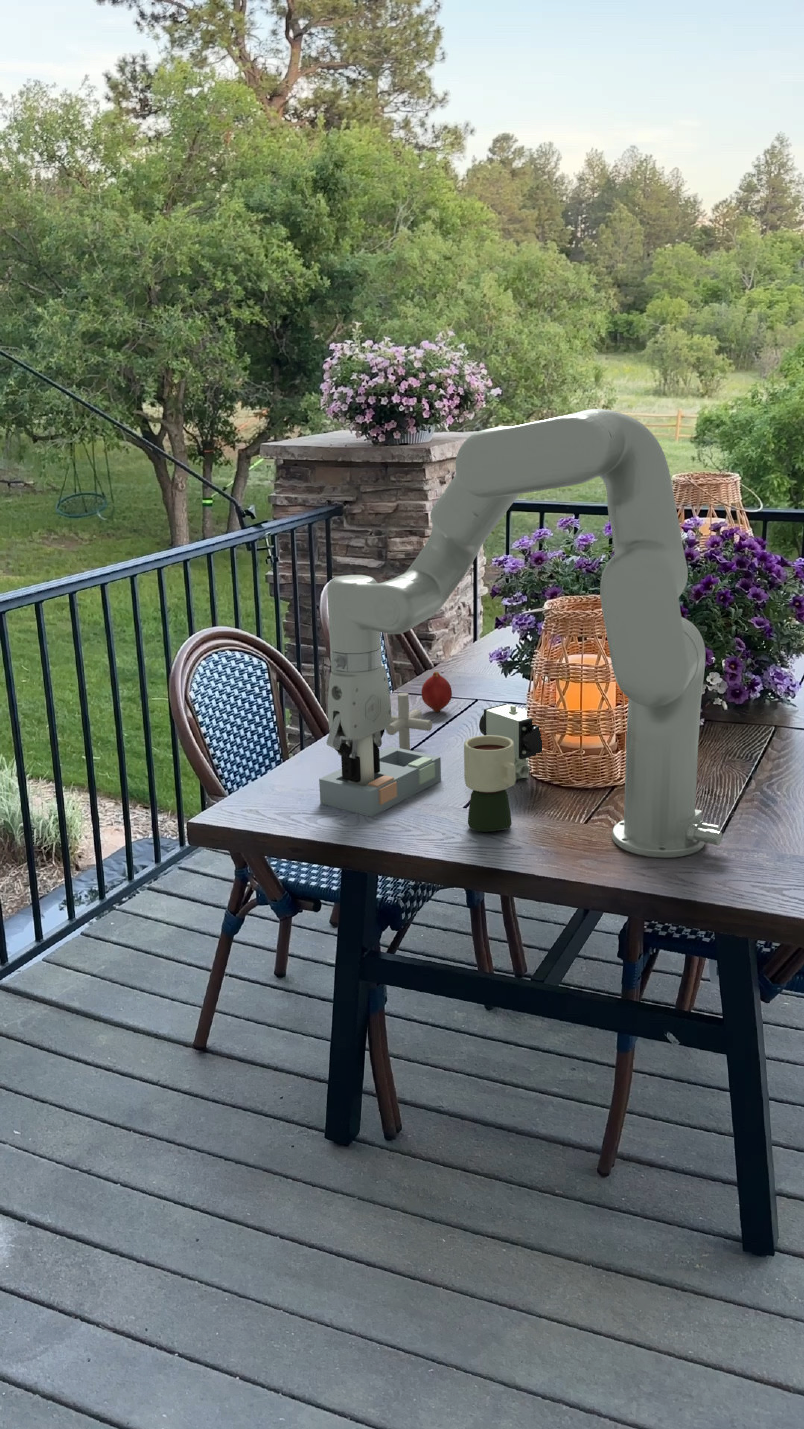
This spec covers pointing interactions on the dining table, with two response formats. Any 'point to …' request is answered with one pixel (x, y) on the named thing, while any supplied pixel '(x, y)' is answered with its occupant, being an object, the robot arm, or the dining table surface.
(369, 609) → the robot arm
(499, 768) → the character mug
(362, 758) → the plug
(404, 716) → the pipe connector
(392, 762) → the socket block
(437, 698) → the onion
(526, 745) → the pneumatic valve
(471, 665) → the dining table surface
